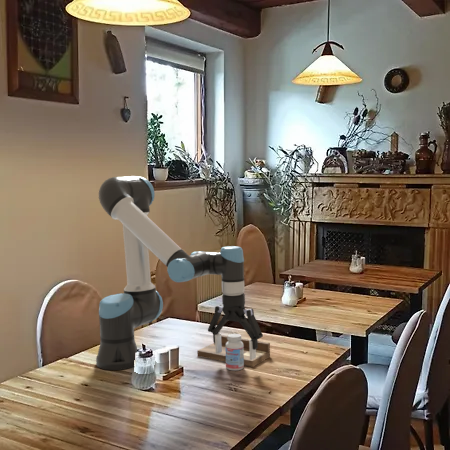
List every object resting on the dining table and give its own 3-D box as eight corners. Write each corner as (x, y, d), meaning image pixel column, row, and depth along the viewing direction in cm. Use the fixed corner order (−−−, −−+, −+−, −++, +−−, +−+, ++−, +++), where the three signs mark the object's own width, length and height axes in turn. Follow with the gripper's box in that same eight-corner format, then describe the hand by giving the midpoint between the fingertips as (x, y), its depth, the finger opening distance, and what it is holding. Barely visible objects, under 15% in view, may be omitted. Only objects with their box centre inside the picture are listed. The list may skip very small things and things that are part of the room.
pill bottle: (222, 369, 197) (221, 336, 196) (231, 364, 202) (230, 332, 201) (239, 372, 194) (238, 338, 193) (247, 366, 199) (246, 334, 198)
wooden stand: (252, 366, 199) (252, 352, 198) (197, 356, 211) (197, 342, 211) (270, 356, 209) (269, 343, 208) (216, 347, 221) (216, 334, 221)
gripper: (271, 294, 192) (273, 357, 194) (209, 288, 205) (211, 347, 207) (260, 298, 185) (262, 364, 187) (196, 292, 199) (198, 353, 201)
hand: (235, 355), depth 197 cm, fingers open, 13 cm apart
